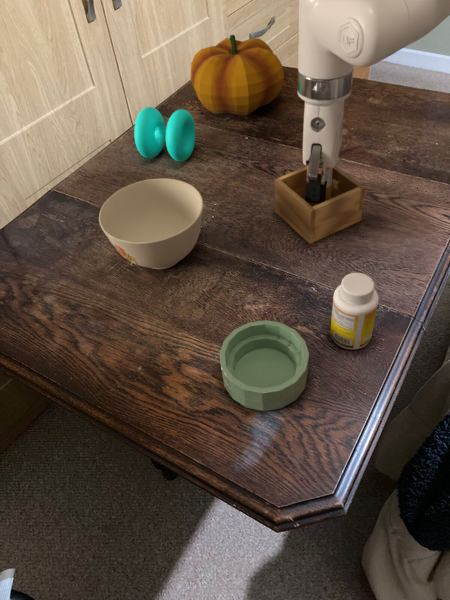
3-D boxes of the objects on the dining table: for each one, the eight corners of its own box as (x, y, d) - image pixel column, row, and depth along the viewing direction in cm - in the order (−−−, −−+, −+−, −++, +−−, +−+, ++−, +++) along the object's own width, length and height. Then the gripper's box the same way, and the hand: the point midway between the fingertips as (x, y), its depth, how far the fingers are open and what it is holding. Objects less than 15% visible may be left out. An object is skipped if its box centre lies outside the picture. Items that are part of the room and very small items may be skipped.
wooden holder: (323, 191, 90) (325, 158, 85) (361, 220, 84) (365, 187, 79) (274, 211, 88) (274, 179, 83) (309, 244, 81) (311, 211, 76)
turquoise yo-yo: (182, 172, 99) (174, 125, 92) (138, 166, 102) (127, 121, 95) (200, 145, 105) (193, 100, 98) (157, 141, 108) (148, 97, 101)
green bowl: (277, 329, 70) (276, 308, 66) (324, 385, 63) (326, 365, 59) (208, 363, 67) (204, 343, 63) (250, 426, 60) (248, 408, 57)
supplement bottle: (367, 318, 69) (376, 266, 62) (374, 350, 66) (386, 298, 58) (327, 320, 70) (331, 269, 62) (332, 352, 66) (338, 301, 59)
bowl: (105, 244, 86) (88, 197, 78) (190, 215, 89) (182, 167, 82) (130, 304, 76) (113, 256, 68) (225, 269, 79) (219, 220, 71)
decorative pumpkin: (176, 109, 117) (164, 43, 106) (242, 76, 126) (237, 11, 115) (234, 136, 107) (228, 65, 96) (301, 98, 116) (303, 29, 105)
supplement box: (303, 214, 85) (305, 163, 78) (315, 204, 87) (317, 154, 79) (319, 221, 83) (322, 170, 76) (331, 211, 85) (335, 160, 78)
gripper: (344, 113, 62) (334, 224, 75) (359, 56, 73) (347, 163, 86) (285, 110, 64) (285, 219, 77) (308, 55, 75) (305, 159, 88)
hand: (318, 188), depth 82 cm, fingers open, 6 cm apart
